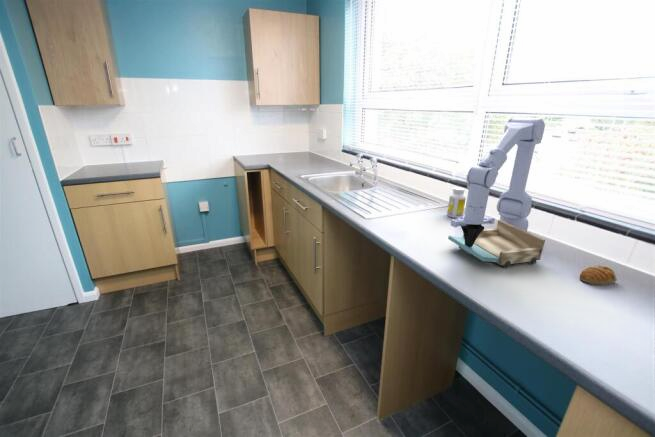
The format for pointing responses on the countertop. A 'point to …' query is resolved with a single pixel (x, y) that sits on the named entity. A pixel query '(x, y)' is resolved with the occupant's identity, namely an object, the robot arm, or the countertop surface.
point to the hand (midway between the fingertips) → (468, 245)
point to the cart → (510, 244)
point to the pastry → (598, 275)
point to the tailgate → (473, 249)
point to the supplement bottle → (456, 203)
